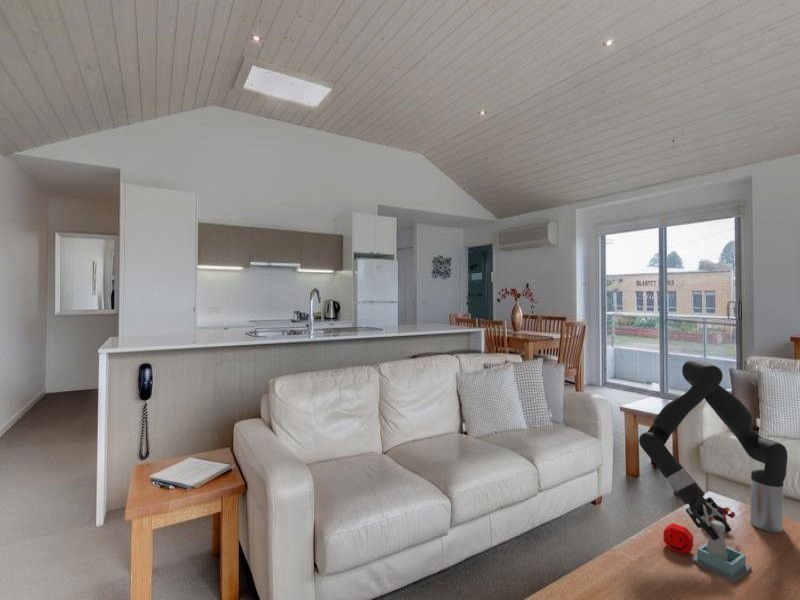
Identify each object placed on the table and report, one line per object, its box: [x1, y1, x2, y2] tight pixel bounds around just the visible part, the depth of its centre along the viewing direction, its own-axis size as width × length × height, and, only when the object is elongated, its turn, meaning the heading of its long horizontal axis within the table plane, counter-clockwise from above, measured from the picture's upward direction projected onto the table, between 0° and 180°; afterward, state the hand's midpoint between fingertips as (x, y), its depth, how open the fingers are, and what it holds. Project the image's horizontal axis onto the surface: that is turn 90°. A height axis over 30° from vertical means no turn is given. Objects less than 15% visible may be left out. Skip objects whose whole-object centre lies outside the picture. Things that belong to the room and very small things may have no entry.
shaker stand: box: [691, 541, 753, 583], centre depth 135 cm, size 12×12×4 cm
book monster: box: [704, 506, 736, 528], centre depth 156 cm, size 11×9×12 cm
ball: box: [662, 523, 694, 555], centre depth 144 cm, size 8×8×8 cm
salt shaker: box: [706, 520, 728, 561], centre depth 135 cm, size 6×6×13 cm
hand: (723, 535), depth 135 cm, fingers open, 8 cm apart
